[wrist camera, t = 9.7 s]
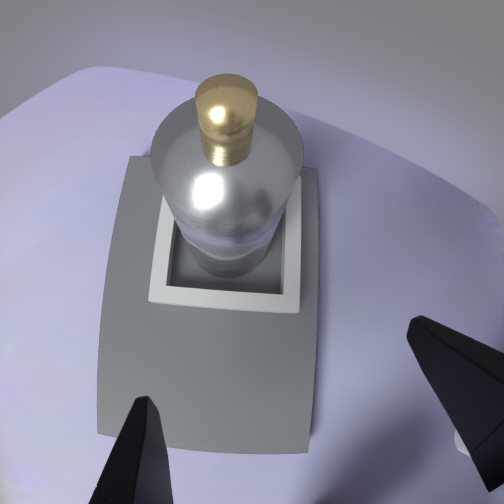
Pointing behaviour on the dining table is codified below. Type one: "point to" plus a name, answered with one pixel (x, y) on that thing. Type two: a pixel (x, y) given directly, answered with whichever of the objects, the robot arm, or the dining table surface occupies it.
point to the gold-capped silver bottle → (227, 172)
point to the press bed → (210, 328)
